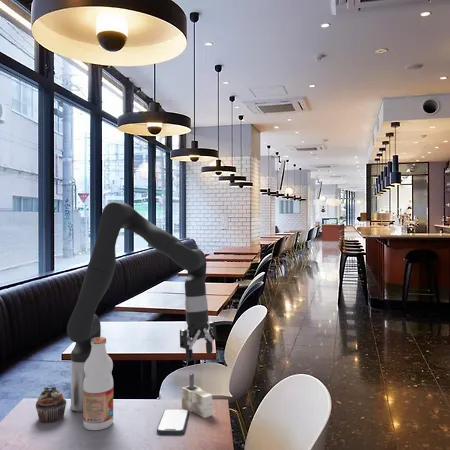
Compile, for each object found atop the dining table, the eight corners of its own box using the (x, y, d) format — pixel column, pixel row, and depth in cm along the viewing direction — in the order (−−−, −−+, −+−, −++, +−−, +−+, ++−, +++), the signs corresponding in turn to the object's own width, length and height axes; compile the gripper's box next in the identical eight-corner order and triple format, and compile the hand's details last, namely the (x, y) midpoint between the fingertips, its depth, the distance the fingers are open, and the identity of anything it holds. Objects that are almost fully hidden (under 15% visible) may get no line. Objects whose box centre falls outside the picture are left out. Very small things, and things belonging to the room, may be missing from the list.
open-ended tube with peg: (181, 407, 150) (181, 387, 150) (193, 403, 154) (193, 384, 154) (202, 418, 141) (202, 398, 141) (213, 414, 145) (214, 394, 145)
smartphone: (164, 413, 147) (155, 435, 131) (164, 408, 147) (155, 430, 131) (189, 413, 147) (183, 436, 131) (189, 409, 147) (183, 430, 131)
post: (188, 407, 150) (188, 373, 150) (192, 406, 151) (192, 372, 151) (191, 408, 149) (191, 375, 149) (194, 407, 150) (194, 374, 150)
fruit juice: (79, 422, 139) (80, 337, 139) (108, 415, 144) (108, 333, 144) (87, 434, 131) (87, 344, 131) (117, 426, 136) (117, 339, 136)
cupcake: (66, 421, 140) (66, 391, 140) (34, 426, 136) (34, 395, 136) (66, 409, 149) (66, 381, 149) (36, 414, 145) (36, 385, 145)
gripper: (205, 304, 150) (208, 349, 149) (173, 311, 140) (176, 360, 139) (219, 305, 144) (222, 353, 144) (187, 313, 134) (190, 364, 134)
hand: (199, 356), depth 142 cm, fingers open, 8 cm apart
